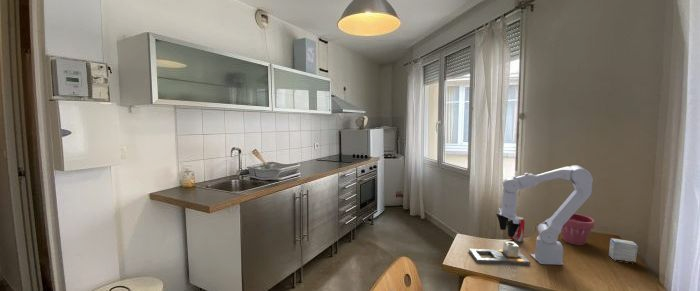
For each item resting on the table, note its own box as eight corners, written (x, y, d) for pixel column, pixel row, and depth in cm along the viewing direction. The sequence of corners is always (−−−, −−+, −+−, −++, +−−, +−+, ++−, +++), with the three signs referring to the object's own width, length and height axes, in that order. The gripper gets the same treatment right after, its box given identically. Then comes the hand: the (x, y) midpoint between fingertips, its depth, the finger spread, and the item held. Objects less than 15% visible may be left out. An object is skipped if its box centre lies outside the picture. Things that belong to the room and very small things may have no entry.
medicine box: (630, 259, 126) (633, 241, 125) (635, 264, 122) (638, 245, 121) (608, 255, 129) (610, 237, 128) (612, 260, 125) (614, 241, 124)
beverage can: (525, 243, 141) (527, 220, 139) (511, 241, 142) (513, 219, 141) (520, 237, 147) (522, 215, 145) (507, 236, 148) (509, 214, 147)
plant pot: (550, 238, 147) (552, 214, 145) (564, 233, 153) (566, 210, 152) (583, 250, 134) (586, 224, 133) (597, 244, 141) (600, 219, 139)
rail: (517, 253, 130) (517, 250, 130) (530, 265, 120) (530, 261, 120) (468, 251, 131) (469, 248, 131) (477, 262, 121) (477, 259, 121)
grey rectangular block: (512, 256, 127) (513, 241, 127) (517, 261, 123) (518, 246, 122) (502, 256, 128) (503, 241, 127) (507, 261, 123) (508, 245, 122)
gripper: (493, 199, 136) (491, 226, 138) (507, 209, 122) (505, 239, 123) (508, 199, 136) (505, 226, 137) (524, 209, 121) (522, 240, 123)
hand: (506, 232), depth 130 cm, fingers open, 7 cm apart
